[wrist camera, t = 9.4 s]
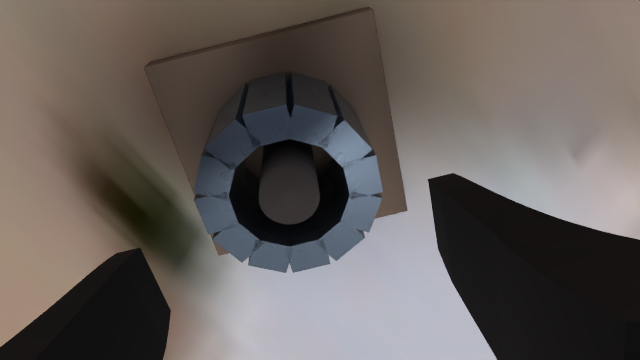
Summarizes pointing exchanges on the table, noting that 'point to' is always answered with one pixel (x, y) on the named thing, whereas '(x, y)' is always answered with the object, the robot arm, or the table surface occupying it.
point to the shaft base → (288, 55)
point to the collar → (243, 187)
